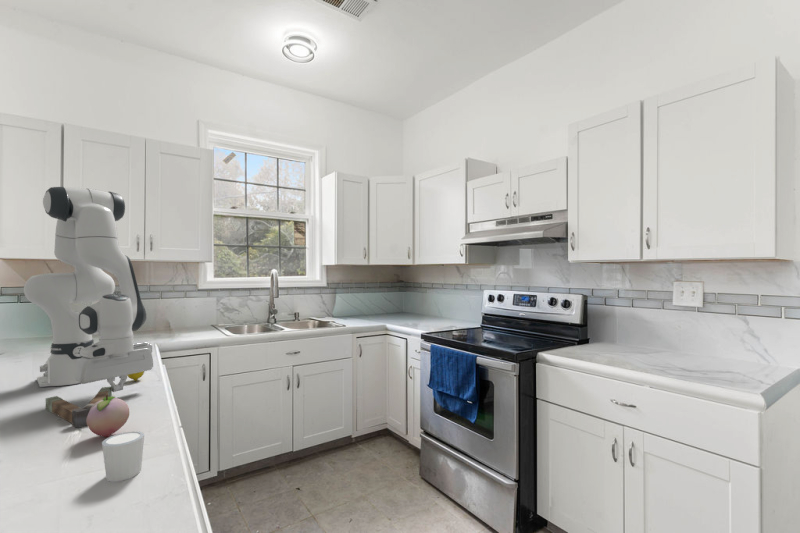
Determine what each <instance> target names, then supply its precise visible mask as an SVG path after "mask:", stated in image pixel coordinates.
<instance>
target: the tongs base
mask: <svg viewBox="0 0 800 533" xmlns="http://www.w3.org/2000/svg"><path fill="white" fill-rule="evenodd" d="M93 405H94V404H89V403H88V404H85V405H84V406H82V407H80V406H78V405H75V404H74V403H71V402H69V401H67V400H65V399H63V398H62V397H59V396H58V395H54V396H51V397H46V398H45V410H46V411H48V412H50V413H53V414H54V415H56V416H58V417H60V418H61V419H64V420H65V421H67V422H69V423H71V424H72V426H73V427H74V428H76V429H78V428H83V427H87V426H88V425H87V422H86V419H87V416H88V413H89V411H90V409H91V407H92V406H93Z"/></svg>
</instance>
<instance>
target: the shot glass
mask: <svg viewBox="0 0 800 533" xmlns="http://www.w3.org/2000/svg"><path fill="white" fill-rule="evenodd" d="M144 443H145V433H144V432H142V431H127V432H126V431H125V432H123V433H117V434H115V435H110V436H108V437H106V438H105V439H104V440H103V441H101V445H102V446H101V447H102V453H103V463H104V469H105V477H106V481H108V482H115V483H116V482H121V481H126V480H129V479H131V478H134V477H136V476H137V475H139V473H141V472H142V463H143V453H144V445H145V444H144Z"/></svg>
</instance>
